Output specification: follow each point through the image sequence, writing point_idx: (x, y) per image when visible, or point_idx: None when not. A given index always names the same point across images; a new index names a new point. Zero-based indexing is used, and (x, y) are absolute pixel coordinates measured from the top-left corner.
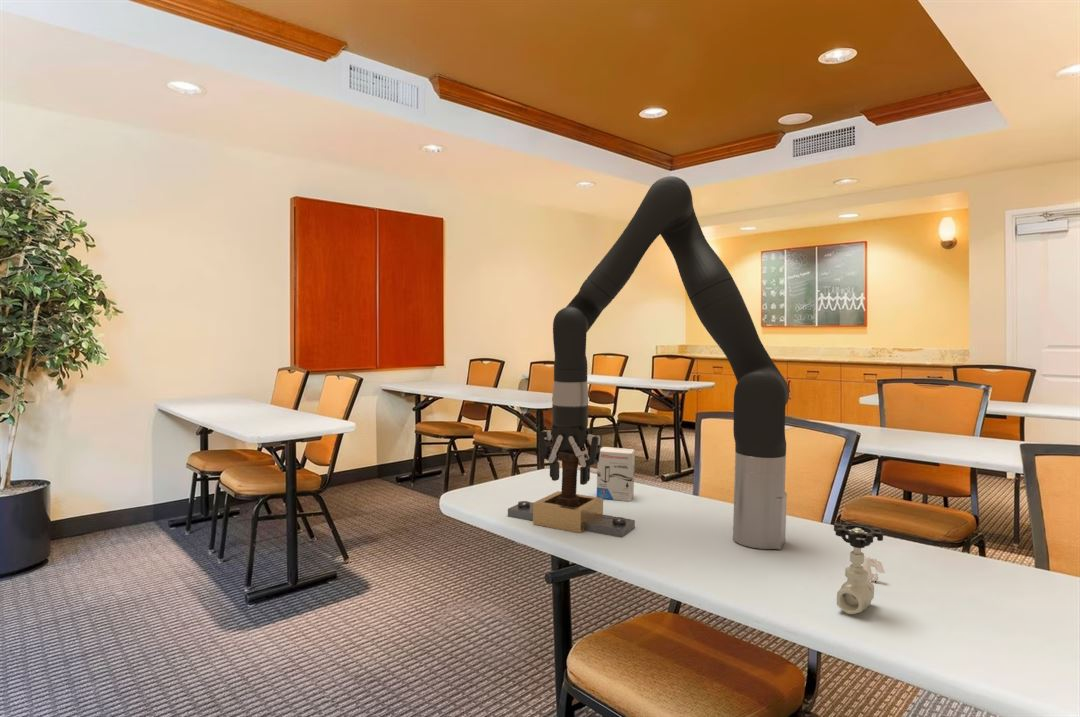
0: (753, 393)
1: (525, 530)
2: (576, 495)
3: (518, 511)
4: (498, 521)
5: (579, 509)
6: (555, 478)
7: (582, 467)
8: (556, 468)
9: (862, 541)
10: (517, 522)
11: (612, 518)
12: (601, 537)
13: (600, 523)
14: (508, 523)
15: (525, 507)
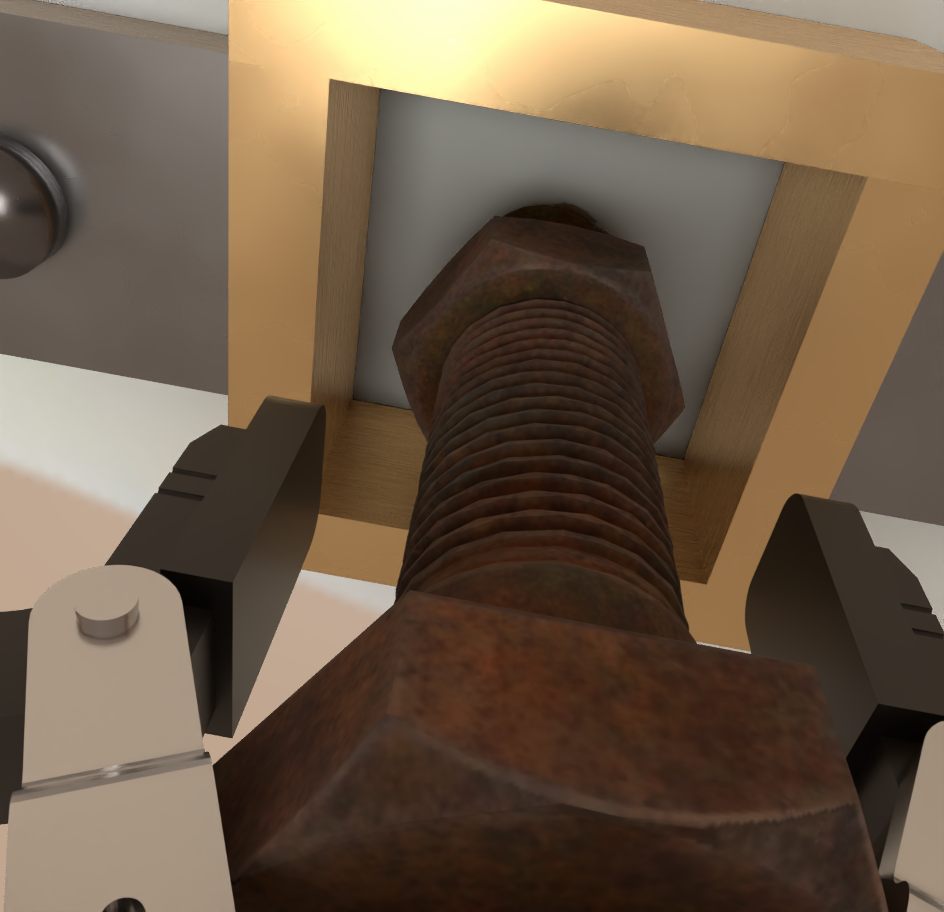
0: None
1: (308, 572)
2: (632, 325)
3: (62, 361)
4: (14, 458)
5: (736, 621)
6: (311, 524)
7: None
8: (264, 604)
9: None
10: (154, 435)
11: None
12: (907, 554)
13: (916, 473)
14: (110, 477)
15: (53, 257)
